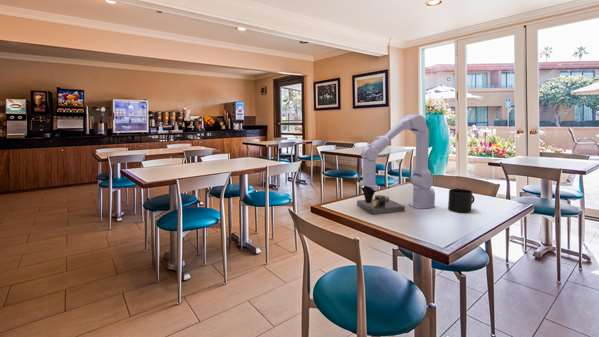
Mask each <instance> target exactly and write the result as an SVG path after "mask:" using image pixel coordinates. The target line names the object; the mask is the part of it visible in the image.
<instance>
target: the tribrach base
mask: <svg viewBox="0 0 599 337" xmlns="http://www.w3.org/2000/svg"><path fill="white" fill-rule="evenodd" d="M374 201H375V198H372V202H371V203H366V201H365V199H360V200H356V206H357V207H359V208H361V210H364V211H365V212H367V213H369V214H370V215H383V214H393V213H402V212H405V211H406V210H405V205H403V204H401V203H398V202H396V201H394V200H391V199H390V196H386V203H385V204H378V205H377V206H373V202H374Z"/></svg>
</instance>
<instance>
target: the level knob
mask: <svg viewBox="0 0 599 337" xmlns="http://www.w3.org/2000/svg"><path fill="white" fill-rule="evenodd" d="M374 199H375V201H374V202H373V206H377V205H378V204H385V203H386V196H385V195H380V194H377V195H374Z"/></svg>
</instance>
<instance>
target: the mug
mask: <svg viewBox="0 0 599 337" xmlns="http://www.w3.org/2000/svg"><path fill="white" fill-rule="evenodd" d="M474 202H475V196H474V195H473V191H472V190H469V189H465V188H451V189H449V190H448V210H449V211H451V212H453V213H459V214H461V213H462V214H467V213H471V212H472V204H474Z"/></svg>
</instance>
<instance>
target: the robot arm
mask: <svg viewBox="0 0 599 337" xmlns="http://www.w3.org/2000/svg"><path fill="white" fill-rule="evenodd" d="M405 130H406V131H407V130H409V131H411V132H412V133H414V135H415V168H414V169H413V170H412V175H411V177H410V183H411V184H412V203H408V206H411V207H413V208H416V209H418V210H420V209H423V210H424V209H430V208H436V206H435V200H436V192H435V190H434V188H432V186H433V184H434V180H433V176H432V172H431V170H430V169H429V145H430V144H429V142H430V138H429V137H430V131H429V127H428V125H427V119H426V117H424V116H423V115H422V114H406V115H404V116H403V117H402V118H400V119H399V120H398V121H397V123H396V124H394V125H393V127H392V128H391V129H389V131H387V132H386V133H385V134H384V135H379V136H378V135H377V136H376V137H375V140H374V141H373V142H371V143H369V144H368V146H366V147H364V148H363V149H362V151H361V153H360V157H361V158H362V179H361V180H359V185H360V186H363V187H361V190H362V193H363V196H364V200H365V201H366V203H371V202H372V199H374V196H375V193H376V192H377V191H380V190H379V188H380V186H379V185H378V184H377V183H376V172H377V171H376V170H377V167H376V166H377V164H376V163H377V162H376V161H377V160H378V157H379V155H380V154H381V153H382V152H383V151H384V150H385V149H387V147H389V145H390V141H392V140H393V139H394V138H395V137H397V136H398V135H399V134H400V133H401V132H403V131H405Z"/></svg>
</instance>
